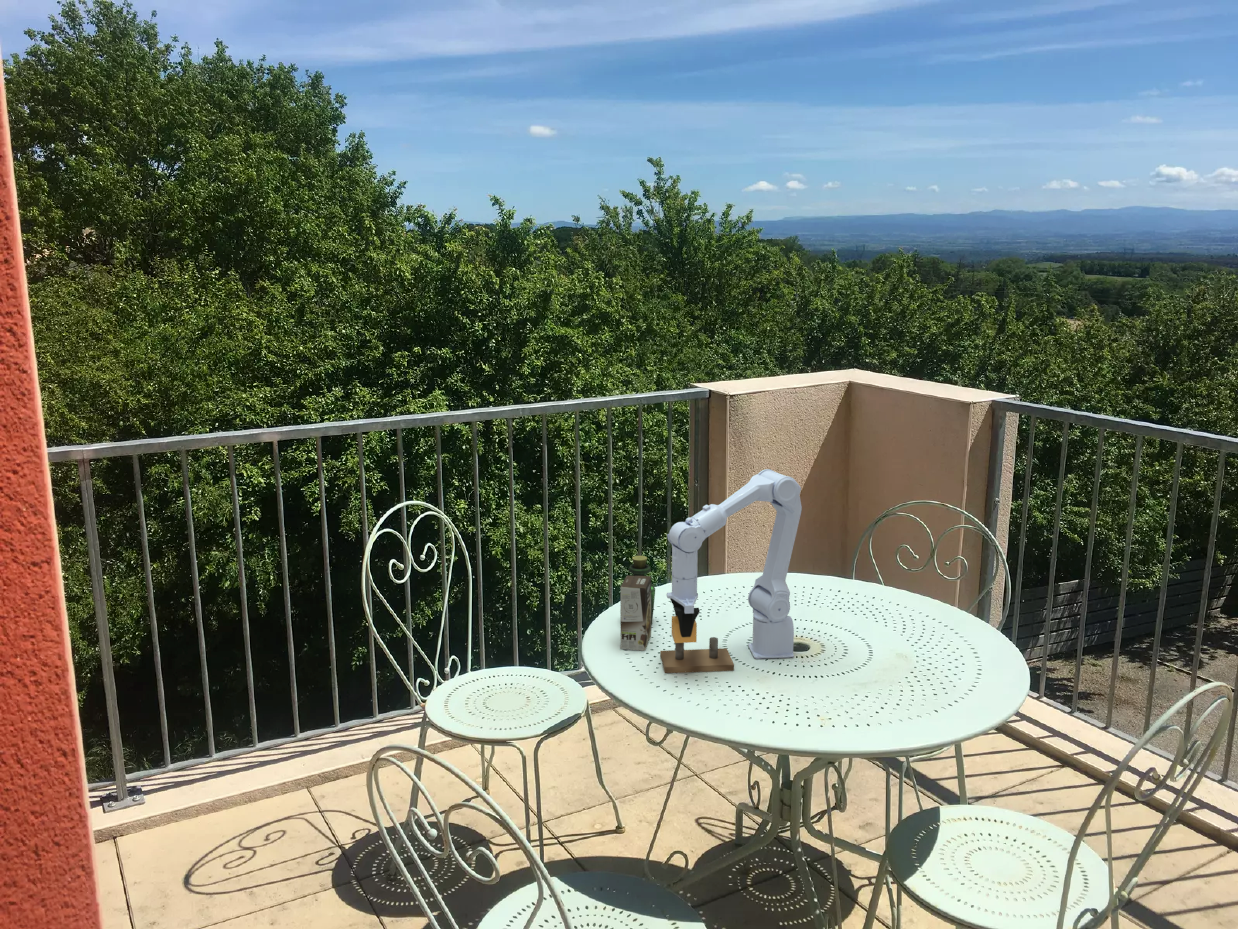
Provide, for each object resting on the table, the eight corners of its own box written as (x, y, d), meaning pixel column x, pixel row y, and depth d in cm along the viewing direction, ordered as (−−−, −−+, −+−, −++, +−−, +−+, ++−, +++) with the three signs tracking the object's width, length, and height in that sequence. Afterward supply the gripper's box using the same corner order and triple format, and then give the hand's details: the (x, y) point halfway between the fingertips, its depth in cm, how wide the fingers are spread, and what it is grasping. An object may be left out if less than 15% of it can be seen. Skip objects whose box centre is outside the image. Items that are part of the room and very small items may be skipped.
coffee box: (645, 651, 214) (645, 588, 210) (619, 649, 215) (619, 586, 211) (652, 636, 222) (652, 575, 219) (627, 634, 224) (626, 574, 220)
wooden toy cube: (692, 633, 206) (693, 615, 205) (696, 642, 201) (696, 623, 200) (671, 634, 205) (671, 616, 204) (674, 643, 200) (674, 624, 199)
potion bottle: (618, 621, 232) (618, 555, 228) (646, 615, 236) (645, 551, 232) (633, 632, 225) (633, 564, 221) (661, 626, 229) (661, 559, 225)
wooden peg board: (726, 654, 212) (727, 630, 210) (734, 670, 203) (734, 646, 202) (660, 656, 211) (660, 633, 209) (664, 673, 202) (664, 648, 201)
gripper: (662, 565, 207) (662, 620, 210) (671, 587, 192) (671, 645, 195) (692, 564, 207) (692, 619, 210) (703, 585, 193) (702, 644, 196)
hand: (684, 631), depth 203 cm, fingers closed on wooden toy cube, 5 cm apart
